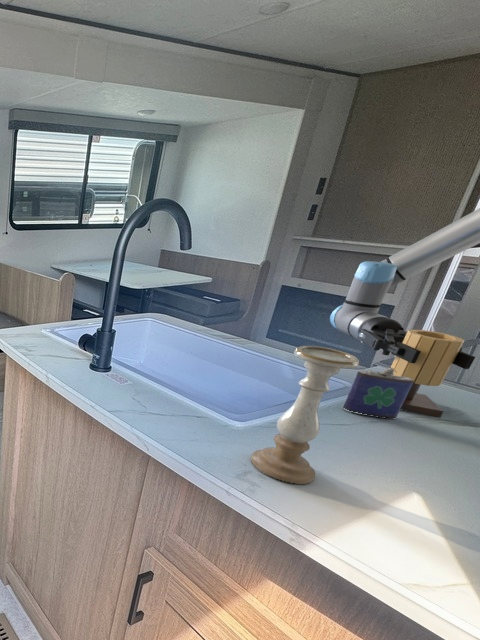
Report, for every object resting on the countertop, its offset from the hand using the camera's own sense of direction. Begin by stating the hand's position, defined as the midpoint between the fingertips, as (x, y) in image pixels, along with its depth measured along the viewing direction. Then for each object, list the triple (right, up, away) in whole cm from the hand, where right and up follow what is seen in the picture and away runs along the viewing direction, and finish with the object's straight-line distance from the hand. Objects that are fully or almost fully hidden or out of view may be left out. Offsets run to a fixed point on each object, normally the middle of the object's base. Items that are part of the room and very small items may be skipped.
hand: (442, 360), depth 88 cm
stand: (+1, -9, +9) cm, 13 cm away
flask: (-13, -12, +3) cm, 17 cm away
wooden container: (+1, -4, +7) cm, 8 cm away
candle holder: (-47, -19, -18) cm, 54 cm away
